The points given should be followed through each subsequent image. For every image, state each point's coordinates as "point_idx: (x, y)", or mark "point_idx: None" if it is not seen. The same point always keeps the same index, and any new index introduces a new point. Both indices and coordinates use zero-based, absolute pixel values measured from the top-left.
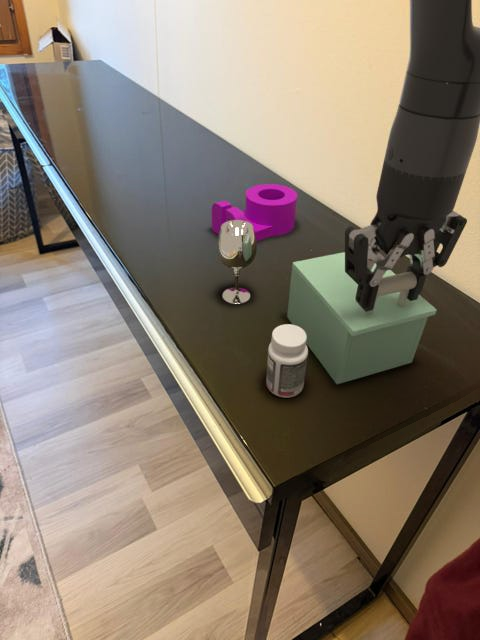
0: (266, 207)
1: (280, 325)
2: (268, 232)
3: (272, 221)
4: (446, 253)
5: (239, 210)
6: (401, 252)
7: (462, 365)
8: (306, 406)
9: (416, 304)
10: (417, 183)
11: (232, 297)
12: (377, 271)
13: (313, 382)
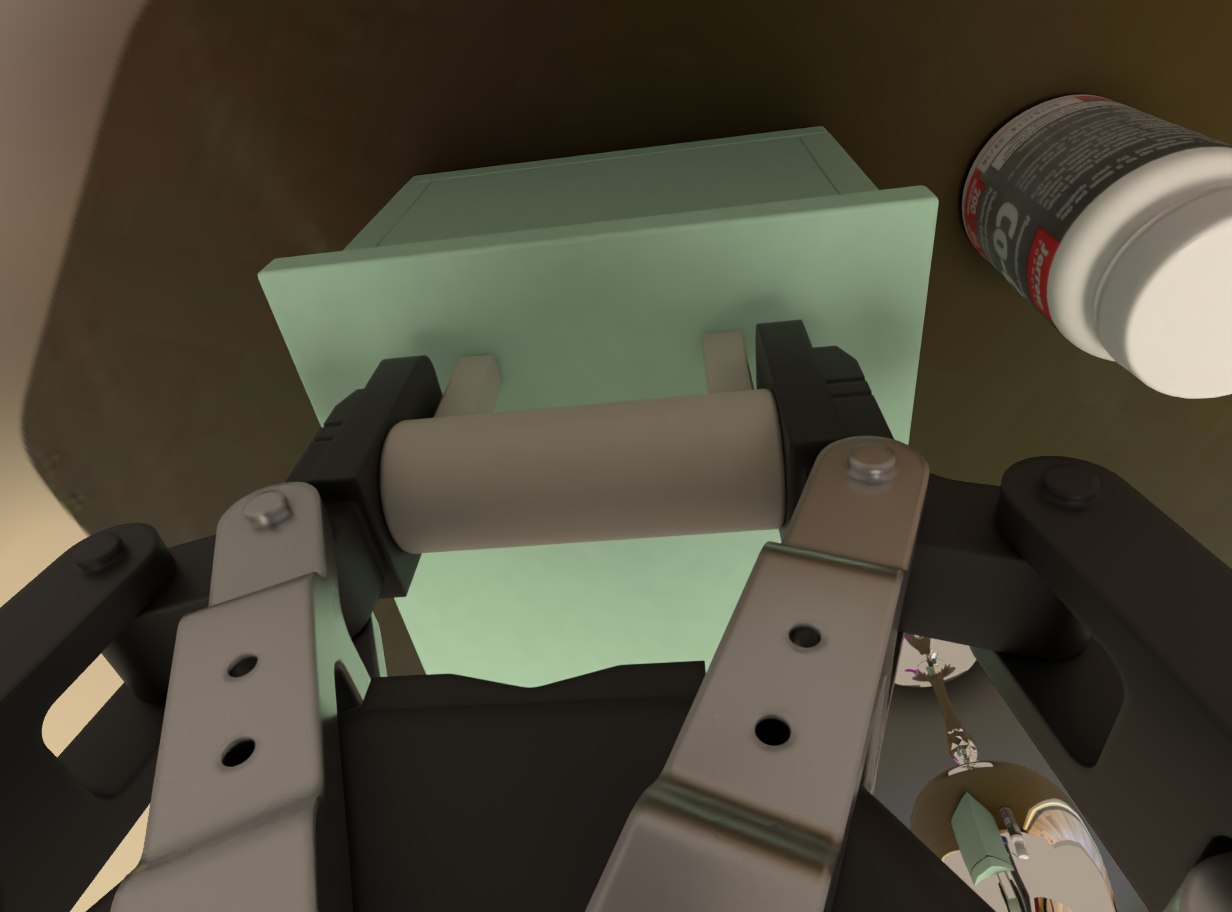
0: None
1: (1221, 395)
2: None
3: None
4: (28, 634)
5: None
6: (698, 728)
7: (171, 99)
8: (1038, 21)
9: (376, 351)
10: None
11: (954, 648)
12: (909, 549)
13: (914, 166)
